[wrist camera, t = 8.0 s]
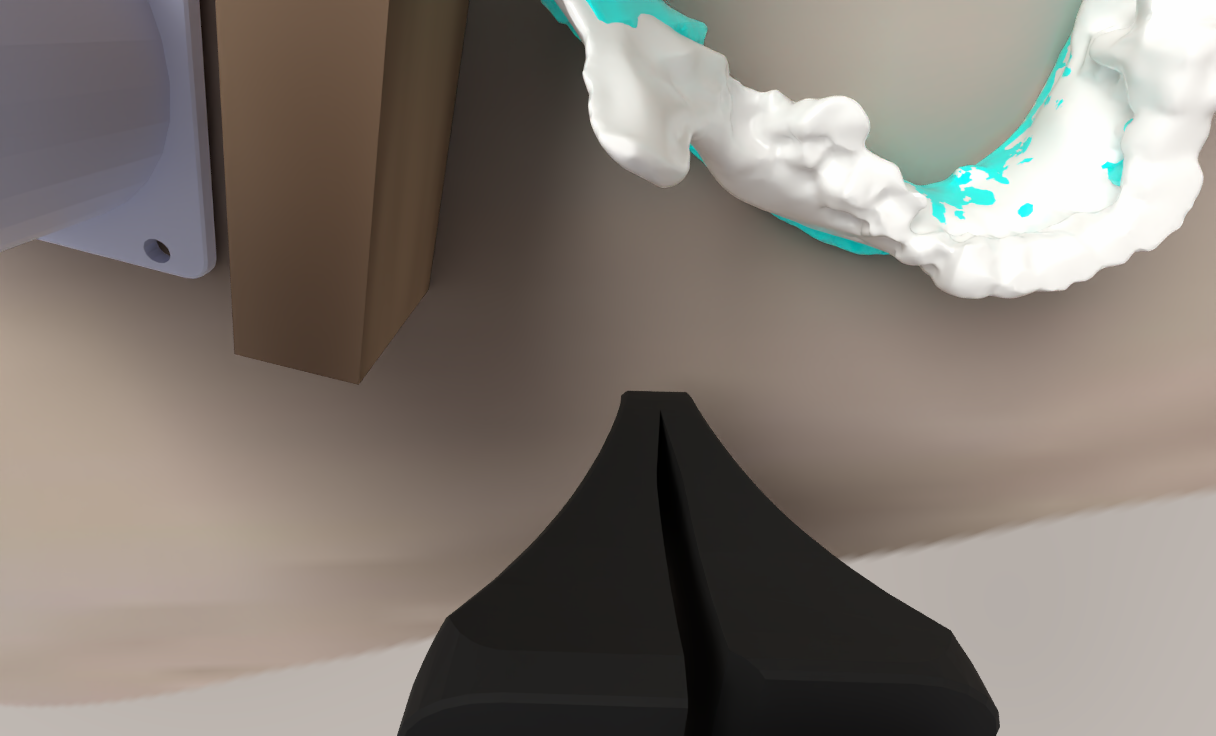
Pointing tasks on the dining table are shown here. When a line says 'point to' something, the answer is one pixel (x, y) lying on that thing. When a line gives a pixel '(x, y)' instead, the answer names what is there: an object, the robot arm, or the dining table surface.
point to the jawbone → (974, 194)
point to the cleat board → (333, 170)
